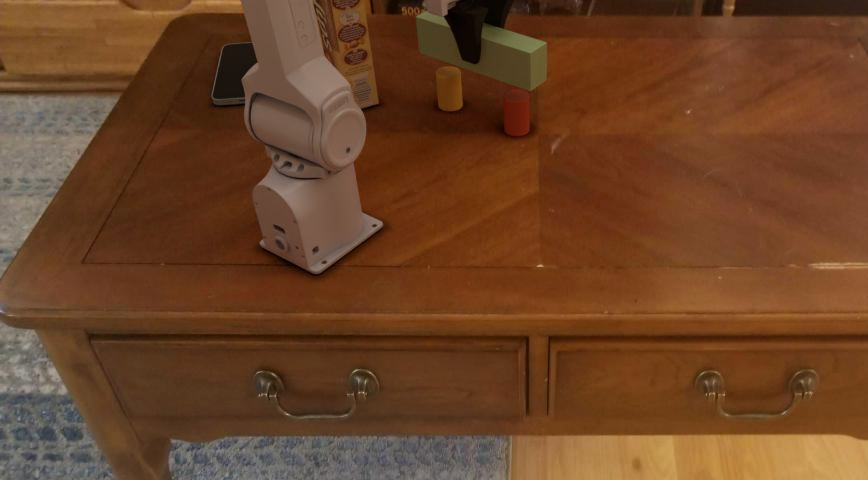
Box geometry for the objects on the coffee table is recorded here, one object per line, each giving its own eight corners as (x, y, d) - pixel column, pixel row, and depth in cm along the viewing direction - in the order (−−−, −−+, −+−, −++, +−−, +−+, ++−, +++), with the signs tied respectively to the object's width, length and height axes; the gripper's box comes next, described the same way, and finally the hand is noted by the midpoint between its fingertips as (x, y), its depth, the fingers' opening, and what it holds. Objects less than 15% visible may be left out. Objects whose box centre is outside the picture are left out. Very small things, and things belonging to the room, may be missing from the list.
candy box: (381, 104, 104) (364, -20, 93) (348, 114, 102) (328, -12, 91) (351, 75, 109) (332, -45, 99) (320, 84, 107) (298, -38, 97)
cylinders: (520, 139, 98) (519, 104, 95) (433, 107, 103) (430, 73, 100) (534, 128, 100) (534, 93, 97) (448, 97, 105) (446, 63, 102)
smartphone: (209, 100, 102) (222, 44, 113) (211, 107, 103) (224, 50, 113) (272, 95, 103) (279, 40, 114) (274, 102, 104) (280, 46, 114)
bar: (419, 53, 99) (415, 16, 96) (436, 43, 101) (433, 6, 98) (530, 91, 93) (530, 53, 90) (546, 80, 95) (547, 42, 92)
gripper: (461, -39, 81) (469, 90, 90) (545, -80, 90) (544, 40, 99) (405, -54, 84) (418, 72, 93) (492, -93, 93) (496, 25, 102)
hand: (480, 55), depth 96 cm, fingers closed on bar, 3 cm apart
